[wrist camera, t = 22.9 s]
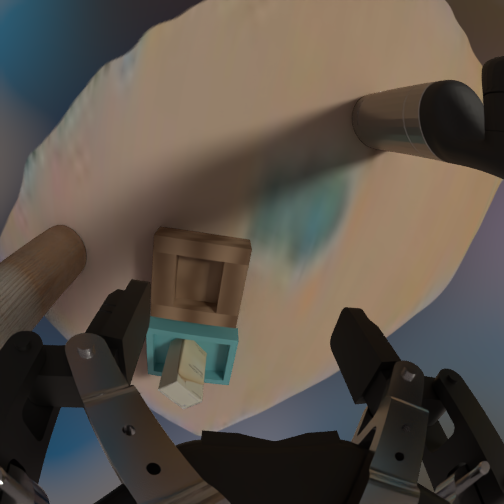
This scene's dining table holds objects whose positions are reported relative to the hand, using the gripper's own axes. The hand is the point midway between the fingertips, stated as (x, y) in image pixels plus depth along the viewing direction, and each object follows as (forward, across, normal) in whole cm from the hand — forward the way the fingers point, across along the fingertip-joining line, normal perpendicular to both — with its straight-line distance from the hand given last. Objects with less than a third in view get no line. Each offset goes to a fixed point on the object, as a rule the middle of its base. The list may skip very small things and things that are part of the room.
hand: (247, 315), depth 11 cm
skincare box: (+31, +4, +30) cm, 44 cm away
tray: (+32, +3, +31) cm, 45 cm away
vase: (+32, +28, +15) cm, 45 cm away
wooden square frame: (+32, +3, +15) cm, 36 cm away
